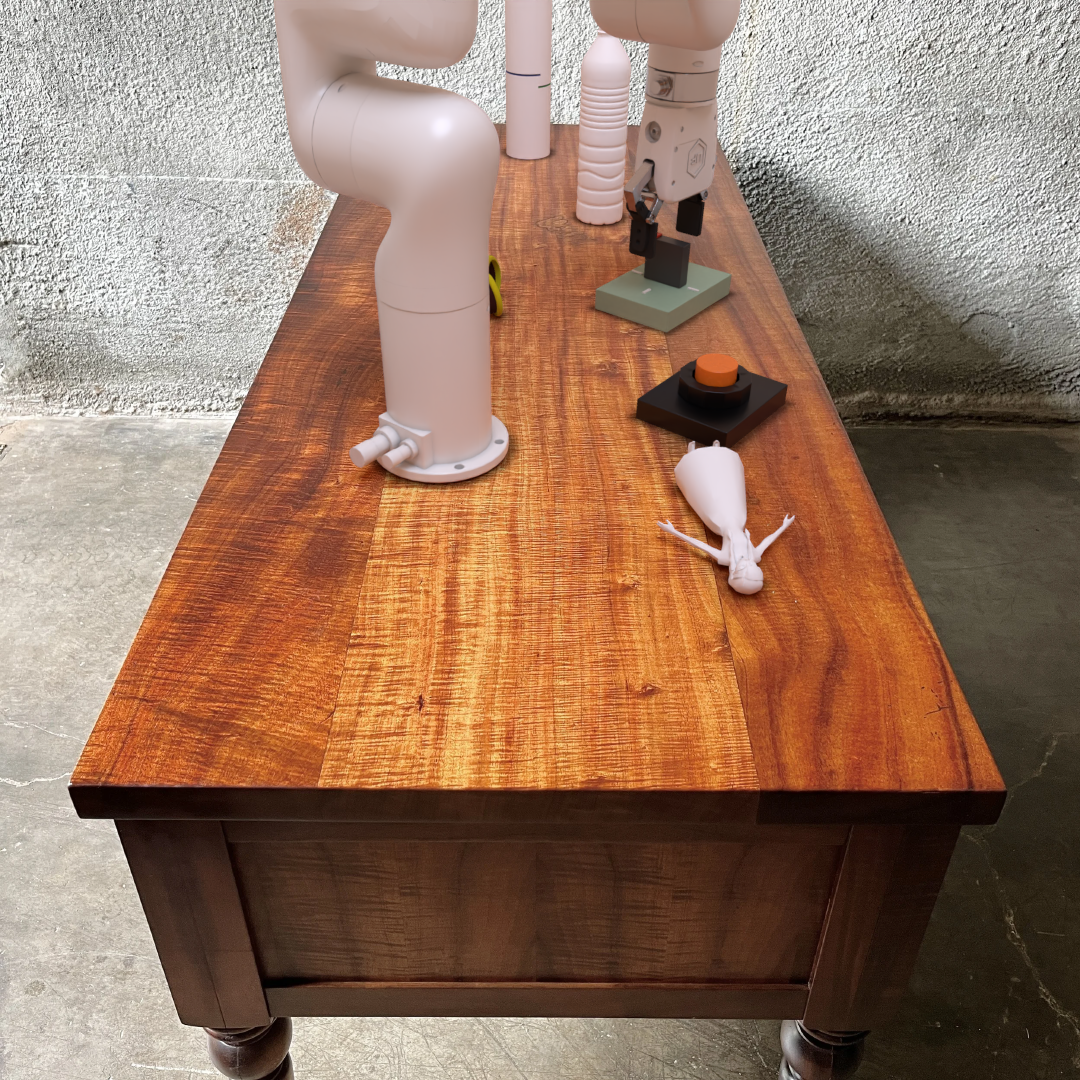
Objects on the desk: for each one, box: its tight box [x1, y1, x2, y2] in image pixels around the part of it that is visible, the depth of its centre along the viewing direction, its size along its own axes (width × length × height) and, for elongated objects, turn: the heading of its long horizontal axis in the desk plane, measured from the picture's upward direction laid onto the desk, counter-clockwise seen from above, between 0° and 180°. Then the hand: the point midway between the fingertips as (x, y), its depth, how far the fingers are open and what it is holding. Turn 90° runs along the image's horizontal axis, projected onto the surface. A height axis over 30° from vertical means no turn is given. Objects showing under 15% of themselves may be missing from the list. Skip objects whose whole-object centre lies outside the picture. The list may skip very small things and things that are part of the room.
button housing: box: [635, 357, 789, 449], centre depth 102 cm, size 12×10×4 cm
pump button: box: [695, 352, 739, 387], centre depth 100 cm, size 4×4×2 cm
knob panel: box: [594, 261, 733, 333], centre depth 123 cm, size 14×10×3 cm
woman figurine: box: [656, 440, 796, 595], centre depth 86 cm, size 12×4×18 cm
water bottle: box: [575, 26, 632, 226], centre depth 139 cm, size 9×6×25 cm
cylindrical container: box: [504, 0, 553, 160], centre depth 162 cm, size 7×7×25 cm
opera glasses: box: [489, 254, 504, 317], centre depth 121 cm, size 10×5×5 cm, turn 3°
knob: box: [644, 231, 691, 288], centre depth 121 cm, size 5×2×5 cm, turn 51°
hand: (665, 244), depth 119 cm, fingers open, 9 cm apart
